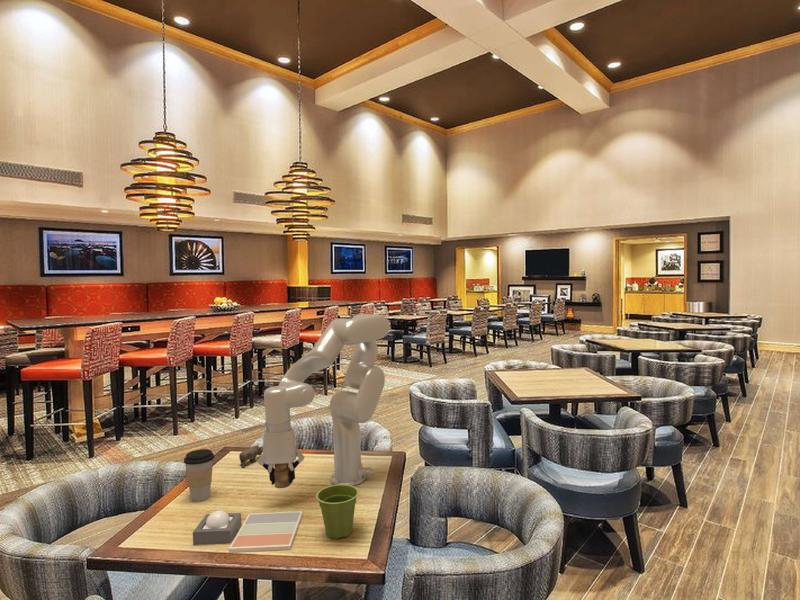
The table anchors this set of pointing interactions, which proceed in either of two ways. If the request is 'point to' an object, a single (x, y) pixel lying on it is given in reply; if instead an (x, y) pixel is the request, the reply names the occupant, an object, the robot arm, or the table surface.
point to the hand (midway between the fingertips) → (282, 481)
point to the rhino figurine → (250, 454)
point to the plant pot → (338, 509)
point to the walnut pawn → (281, 475)
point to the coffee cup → (199, 473)
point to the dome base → (217, 531)
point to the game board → (267, 532)
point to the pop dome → (217, 520)
